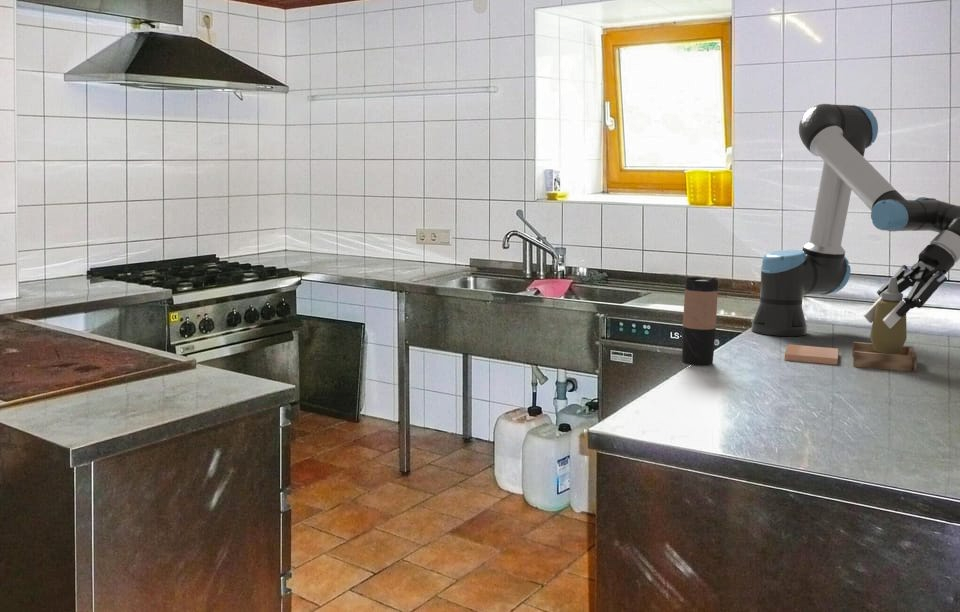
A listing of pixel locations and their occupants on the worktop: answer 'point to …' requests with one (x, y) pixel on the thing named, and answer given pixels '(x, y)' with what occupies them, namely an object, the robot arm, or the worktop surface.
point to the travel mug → (699, 321)
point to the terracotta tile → (811, 354)
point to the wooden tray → (884, 358)
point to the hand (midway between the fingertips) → (876, 321)
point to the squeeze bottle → (880, 333)
